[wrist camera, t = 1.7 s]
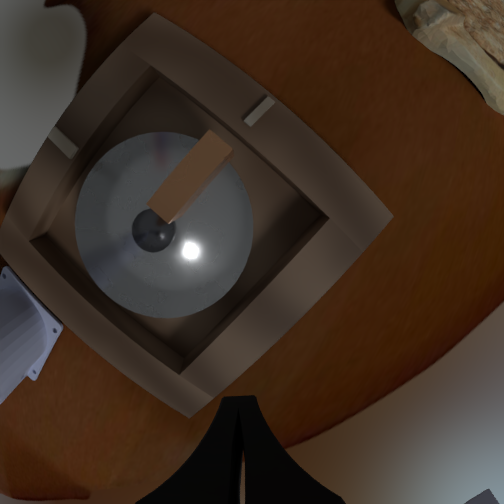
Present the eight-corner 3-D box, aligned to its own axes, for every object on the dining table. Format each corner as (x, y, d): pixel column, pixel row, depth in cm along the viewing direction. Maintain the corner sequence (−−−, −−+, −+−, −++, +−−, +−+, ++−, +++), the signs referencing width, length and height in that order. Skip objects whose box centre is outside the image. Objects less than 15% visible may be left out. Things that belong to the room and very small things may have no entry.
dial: (178, 335, 20) (163, 378, 15) (64, 233, 18) (20, 249, 13) (292, 211, 18) (312, 221, 13) (162, 99, 17) (137, 72, 11)
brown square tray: (194, 391, 23) (188, 420, 19) (18, 237, 19) (-9, 246, 16) (371, 211, 20) (395, 216, 17) (165, 34, 17) (153, 10, 13)
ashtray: (505, 174, 20) (540, 176, 15) (334, -20, 16) (351, -52, 11) (547, 68, 17) (570, 63, 12) (430, -67, 13) (447, -84, 8)
